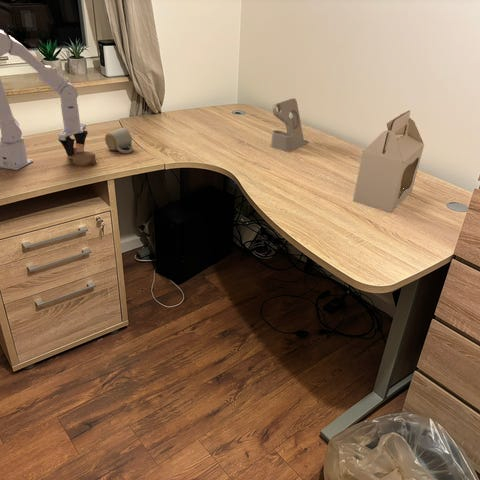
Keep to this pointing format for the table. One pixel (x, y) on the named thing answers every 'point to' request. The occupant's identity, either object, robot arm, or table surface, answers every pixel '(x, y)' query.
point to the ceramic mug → (119, 140)
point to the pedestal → (84, 159)
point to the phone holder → (288, 127)
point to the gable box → (390, 165)
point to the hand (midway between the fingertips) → (75, 152)
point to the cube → (77, 149)
